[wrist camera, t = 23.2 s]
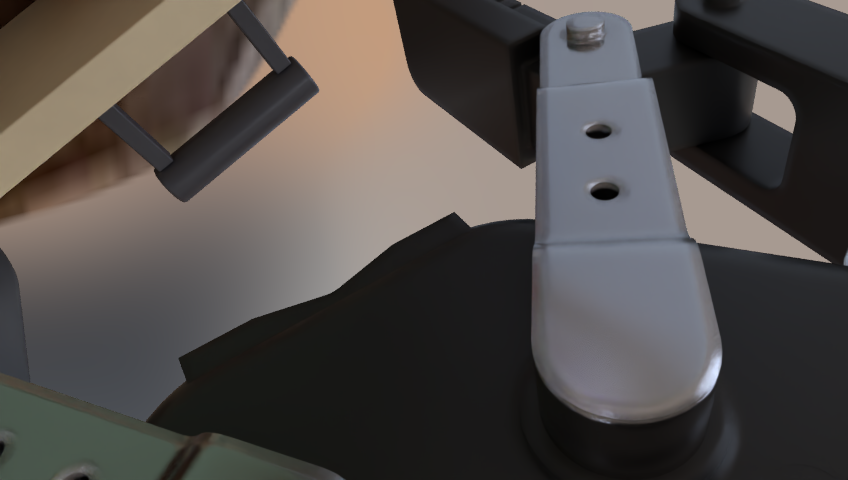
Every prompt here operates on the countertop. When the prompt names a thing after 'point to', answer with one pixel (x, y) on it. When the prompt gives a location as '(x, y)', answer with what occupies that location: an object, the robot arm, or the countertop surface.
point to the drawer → (128, 84)
